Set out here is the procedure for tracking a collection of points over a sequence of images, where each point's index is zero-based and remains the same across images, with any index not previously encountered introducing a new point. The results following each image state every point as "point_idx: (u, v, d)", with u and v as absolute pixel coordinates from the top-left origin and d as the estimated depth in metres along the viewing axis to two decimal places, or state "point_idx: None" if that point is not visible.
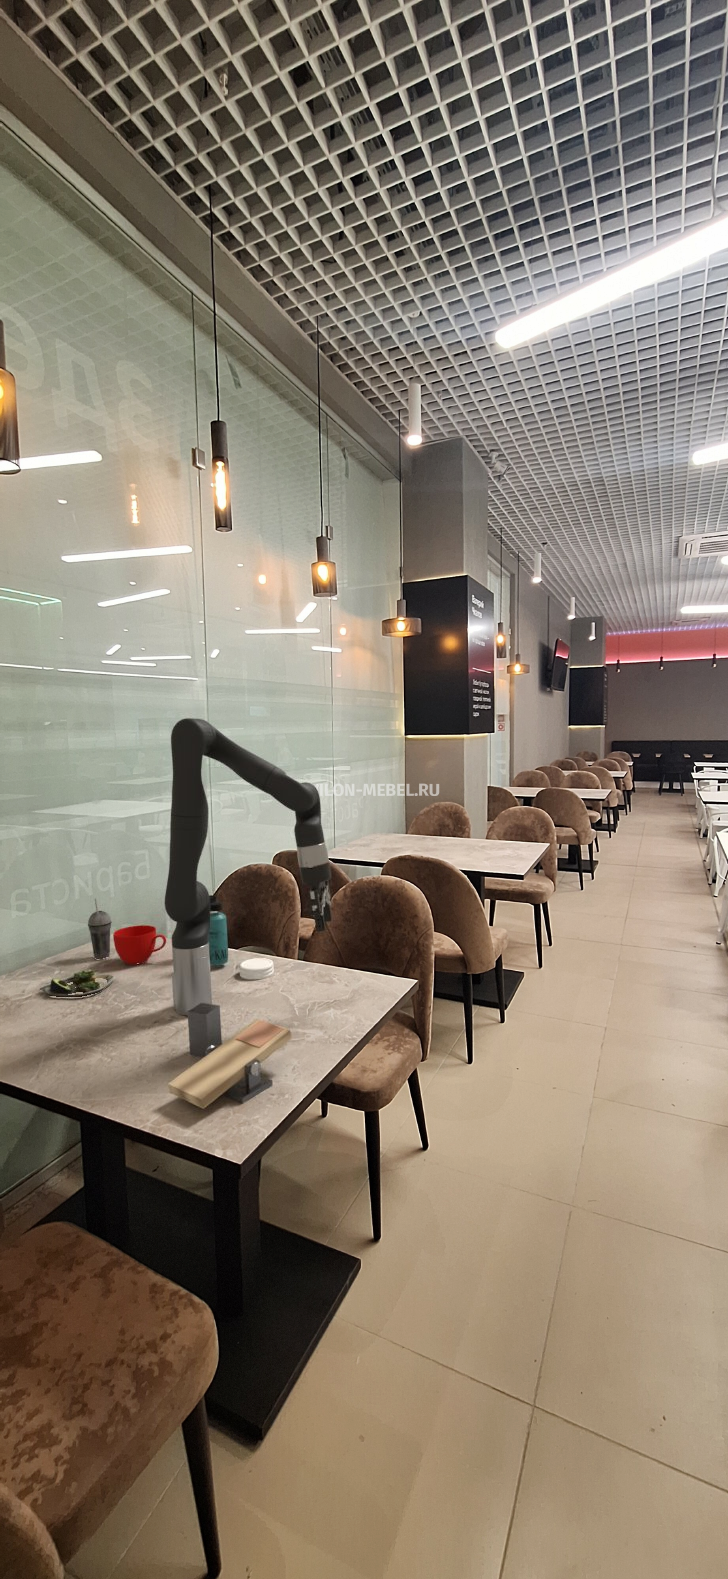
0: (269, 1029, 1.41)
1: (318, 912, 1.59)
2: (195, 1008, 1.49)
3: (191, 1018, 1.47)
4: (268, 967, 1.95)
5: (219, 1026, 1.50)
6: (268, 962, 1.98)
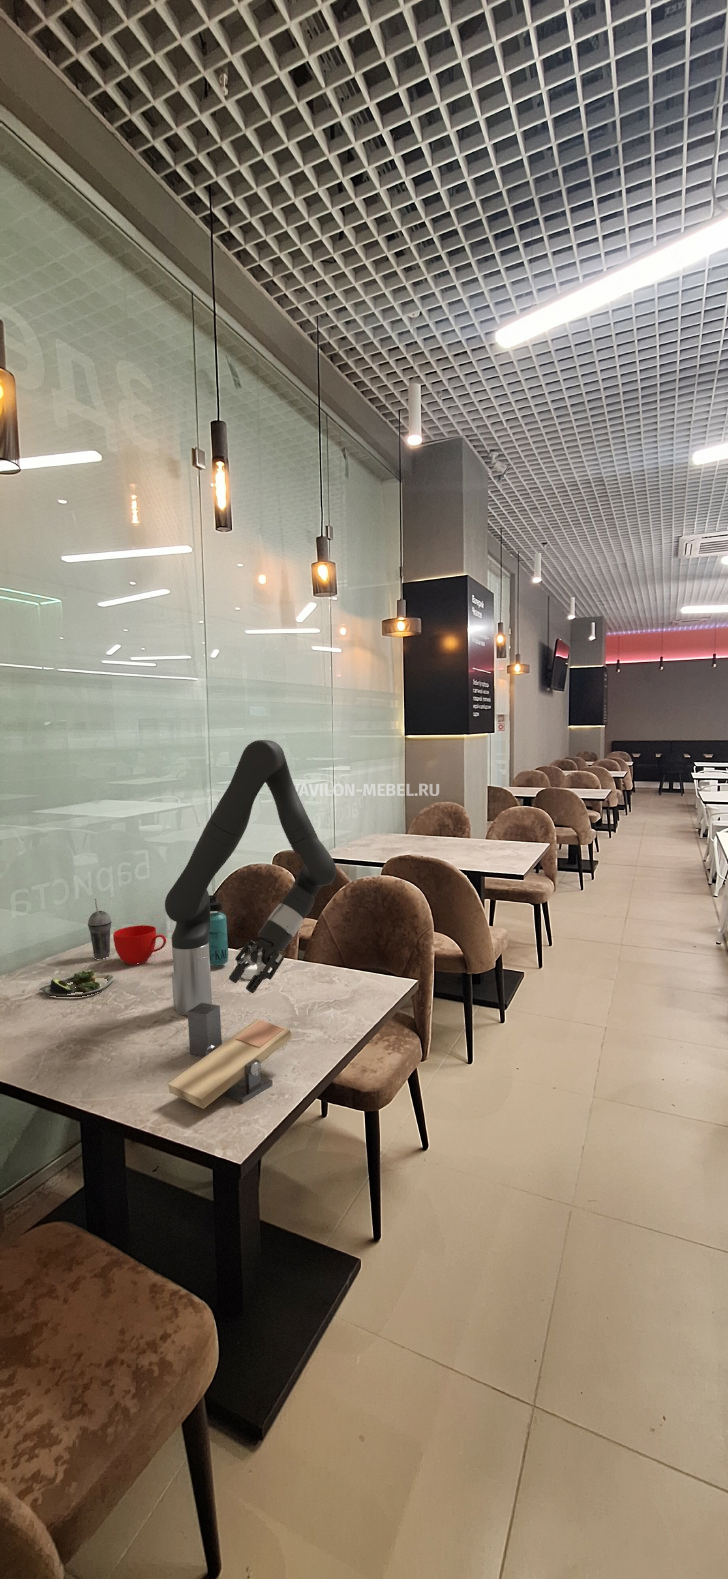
0: (269, 1029, 1.41)
1: (271, 976, 1.51)
2: (195, 1008, 1.49)
3: (191, 1018, 1.47)
4: None
5: (219, 1026, 1.50)
6: None
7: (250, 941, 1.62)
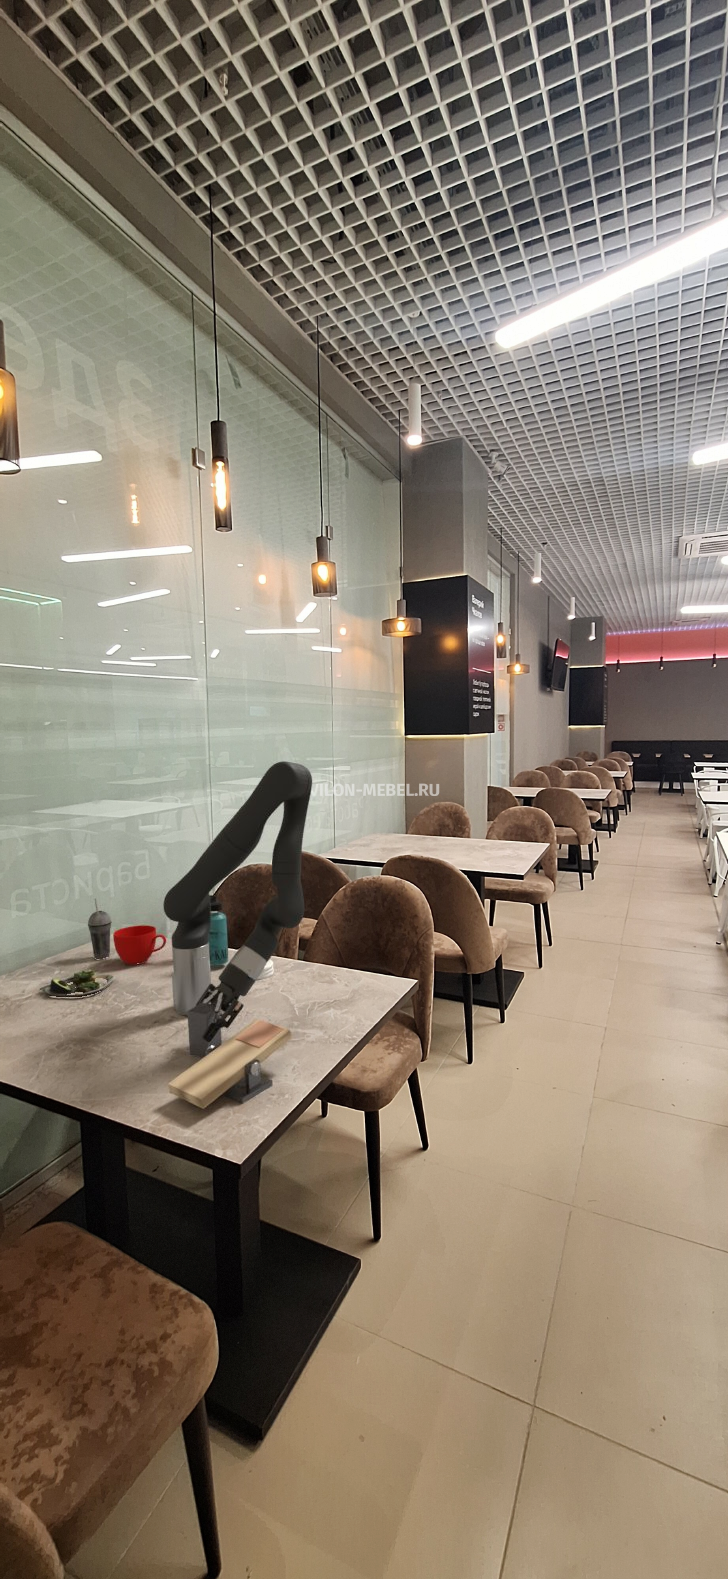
0: (269, 1029, 1.41)
1: (228, 1025, 1.45)
2: (195, 1008, 1.49)
3: (191, 1017, 1.47)
4: (268, 967, 1.95)
5: None
6: (268, 962, 1.98)
7: (211, 985, 1.56)
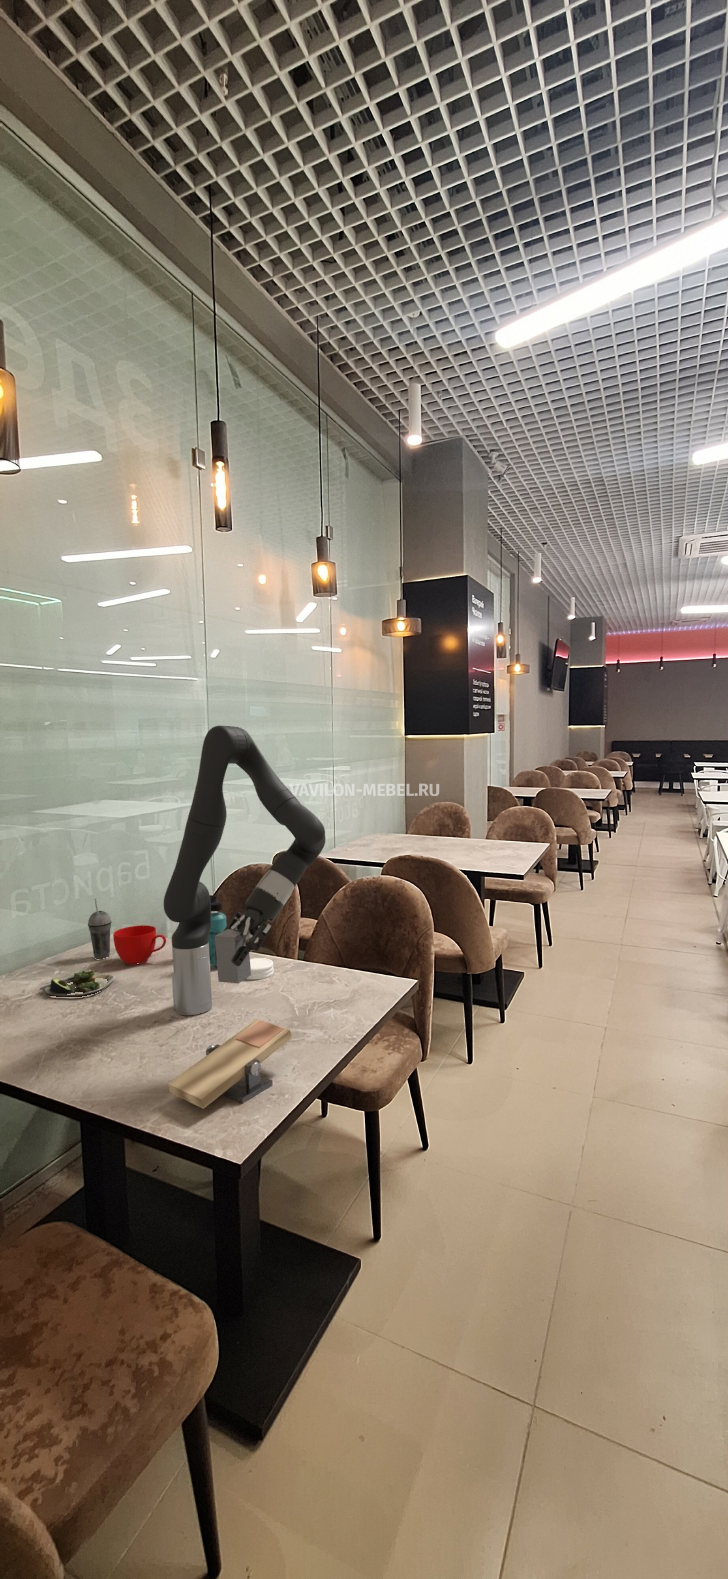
0: (269, 1029, 1.41)
1: (257, 947, 1.40)
2: (222, 933, 1.43)
3: (219, 942, 1.41)
4: (268, 967, 1.95)
5: None
6: (268, 962, 1.98)
7: (237, 913, 1.50)
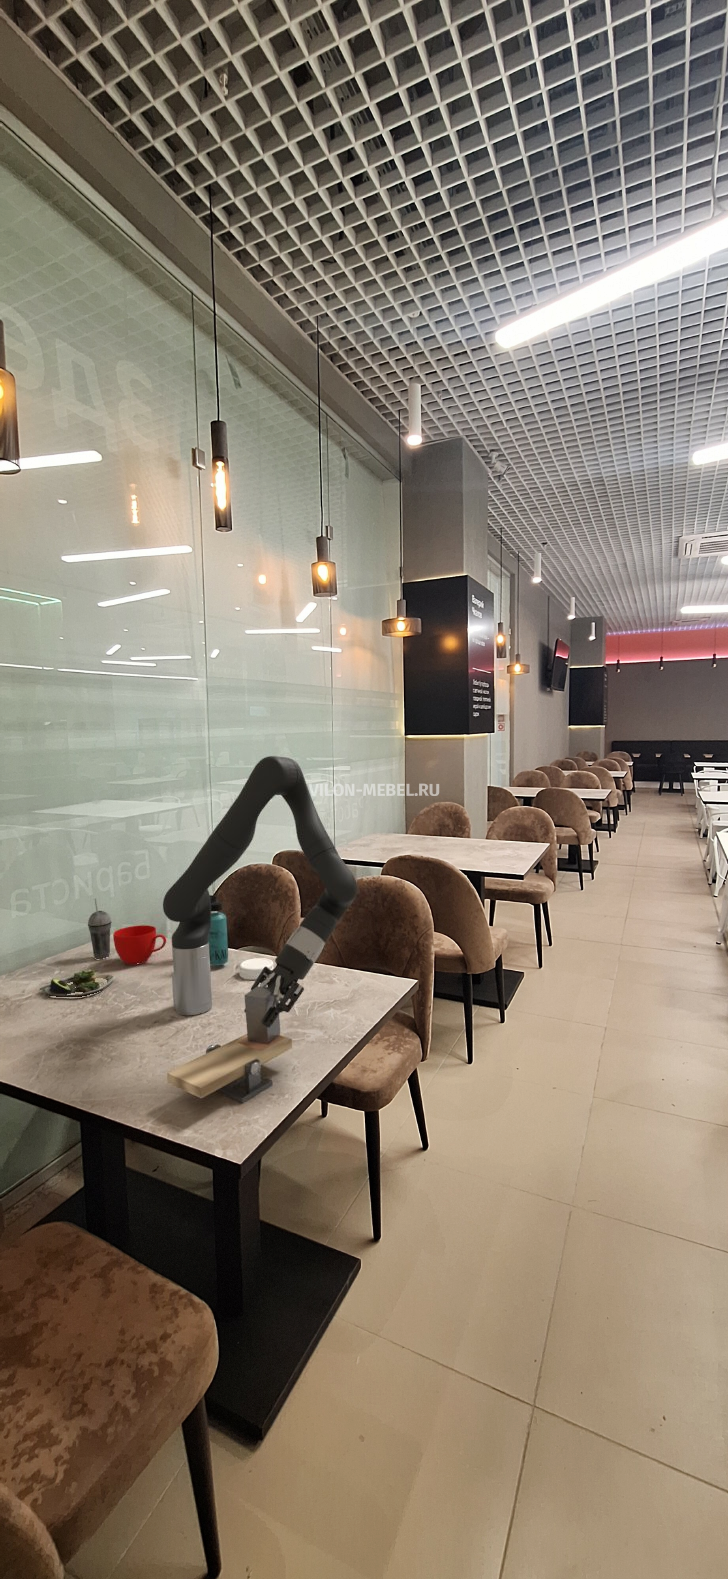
0: None
1: (288, 1009, 1.37)
2: (252, 992, 1.40)
3: (249, 1002, 1.39)
4: (268, 967, 1.95)
5: None
6: (268, 962, 1.98)
7: (266, 968, 1.48)
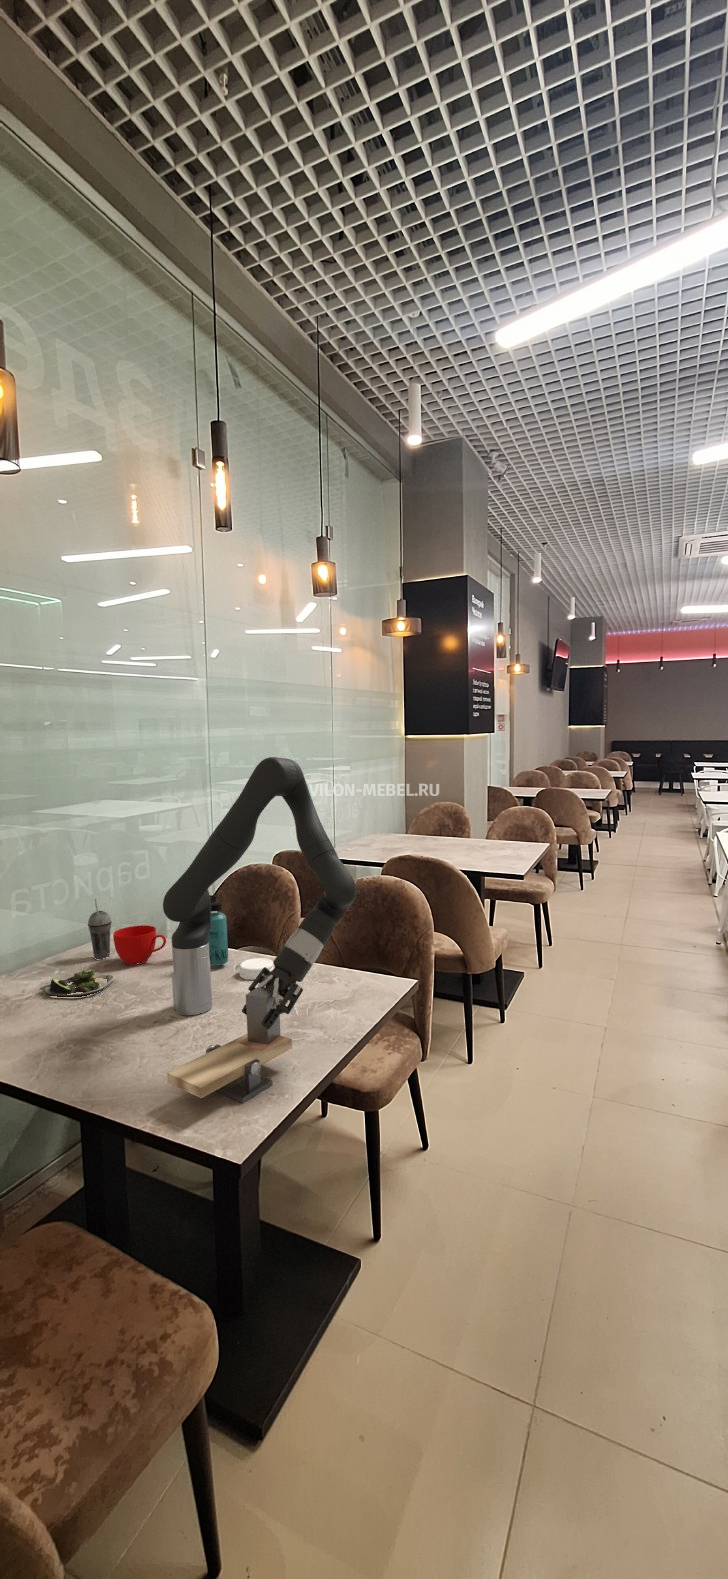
0: None
1: (289, 1010, 1.36)
2: (253, 992, 1.41)
3: (250, 1001, 1.39)
4: (268, 967, 1.95)
5: None
6: (268, 962, 1.98)
7: (265, 969, 1.47)
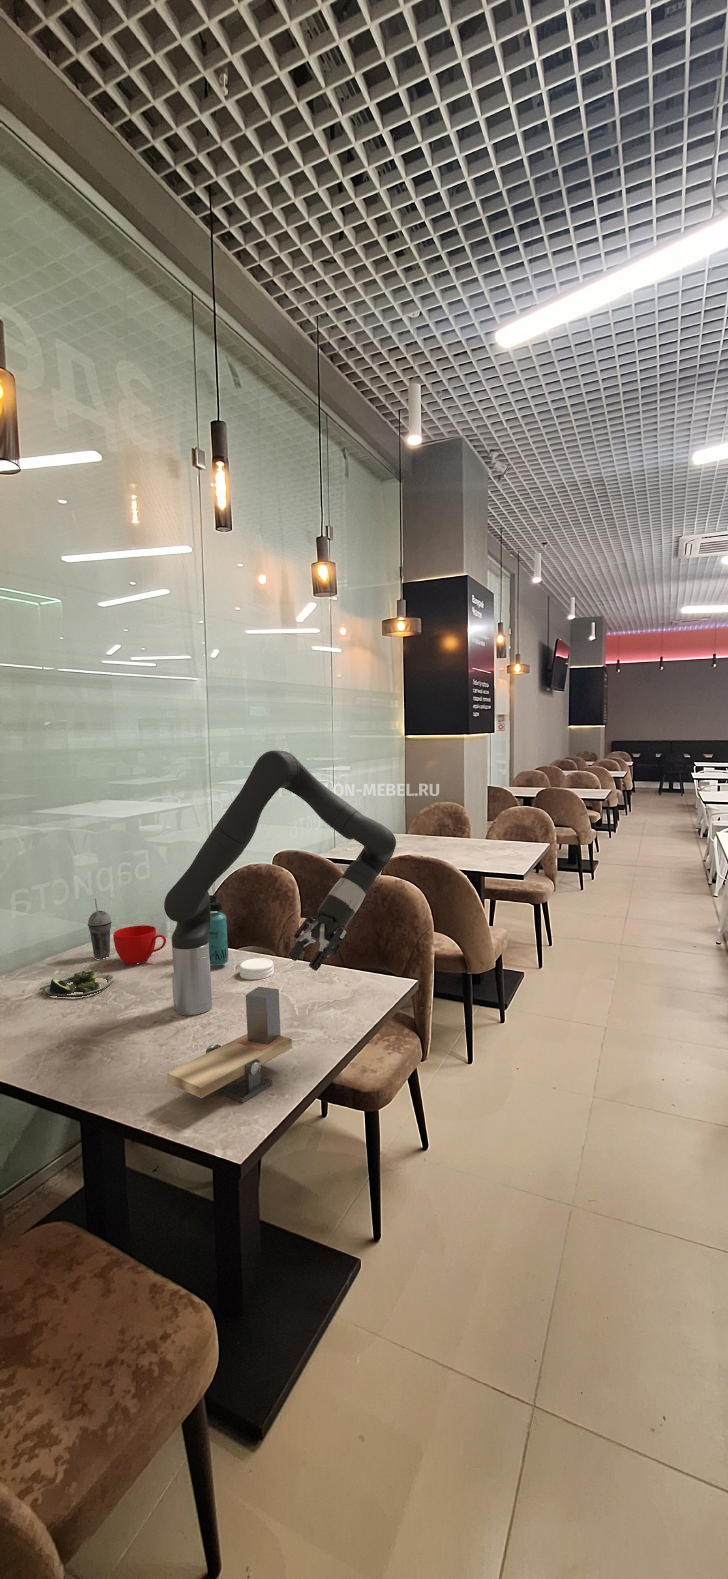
0: None
1: (335, 953, 1.43)
2: (253, 992, 1.41)
3: (250, 1001, 1.39)
4: (268, 967, 1.95)
5: (278, 1011, 1.42)
6: (268, 962, 1.98)
7: (309, 917, 1.54)
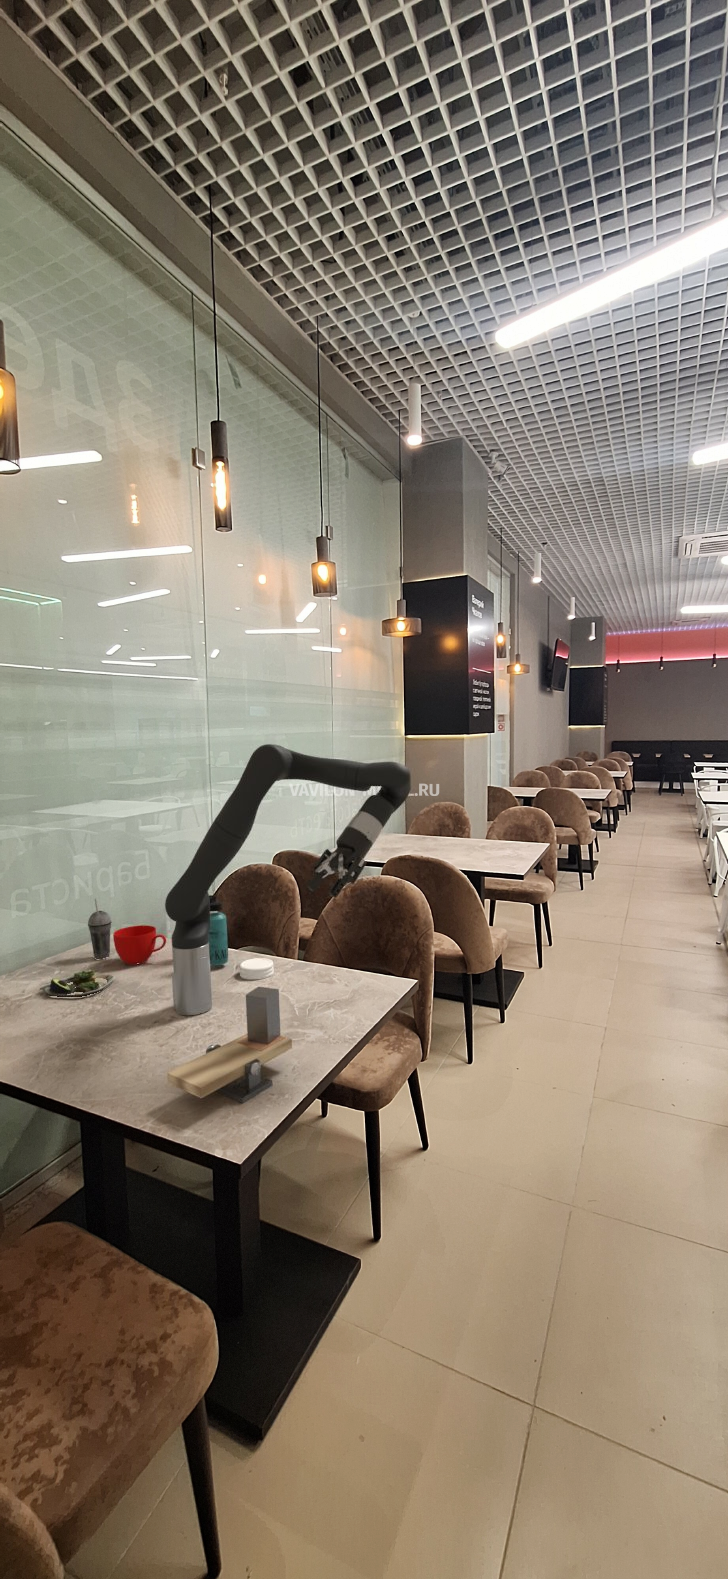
0: None
1: (354, 880, 1.46)
2: (253, 992, 1.41)
3: (250, 1001, 1.39)
4: (268, 967, 1.95)
5: (278, 1011, 1.42)
6: (268, 962, 1.98)
7: (327, 850, 1.57)
